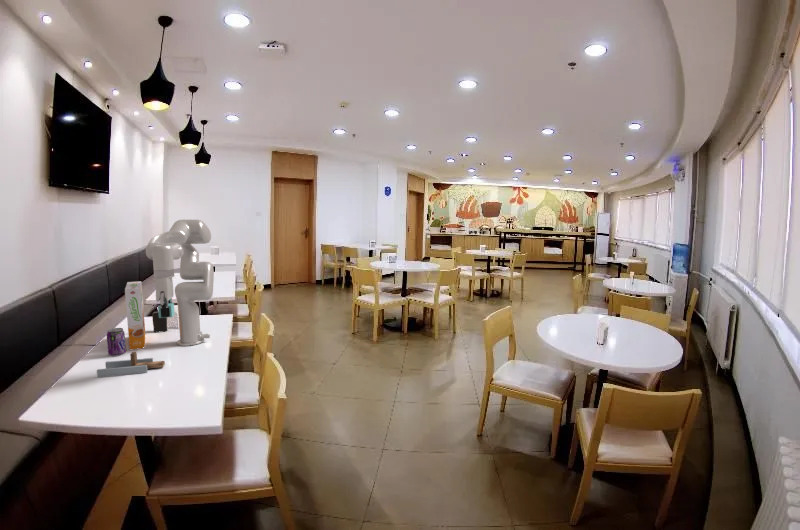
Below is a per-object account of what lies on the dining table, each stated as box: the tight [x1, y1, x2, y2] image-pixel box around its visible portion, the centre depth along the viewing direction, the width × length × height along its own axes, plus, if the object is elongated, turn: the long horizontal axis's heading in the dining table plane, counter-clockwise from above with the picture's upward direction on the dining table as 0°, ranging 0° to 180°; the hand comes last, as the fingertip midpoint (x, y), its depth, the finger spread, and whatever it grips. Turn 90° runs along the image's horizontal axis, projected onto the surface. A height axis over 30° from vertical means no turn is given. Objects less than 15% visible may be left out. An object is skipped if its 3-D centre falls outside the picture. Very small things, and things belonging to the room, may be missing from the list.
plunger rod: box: [129, 351, 166, 370], centre depth 182 cm, size 12×3×7 cm, turn 106°
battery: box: [151, 310, 168, 333], centre depth 236 cm, size 7×4×11 cm, turn 119°
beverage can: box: [106, 327, 127, 357], centre depth 199 cm, size 7×7×12 cm
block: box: [157, 302, 176, 319], centre depth 181 cm, size 5×5×5 cm
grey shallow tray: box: [96, 357, 154, 378], centre depth 180 cm, size 18×10×3 cm, turn 106°
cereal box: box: [124, 280, 146, 350], centre depth 215 cm, size 22×6×30 cm, turn 30°
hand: (167, 314), depth 182 cm, fingers closed on block, 5 cm apart
